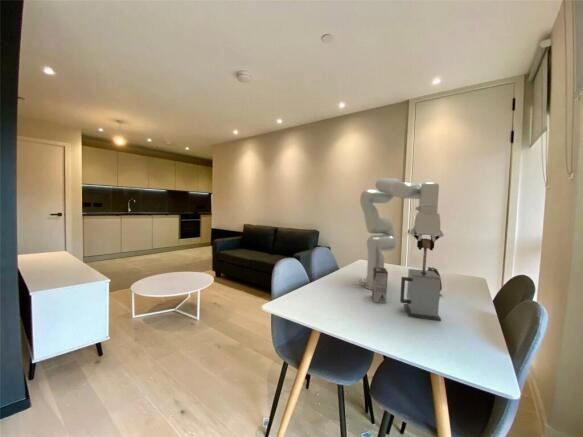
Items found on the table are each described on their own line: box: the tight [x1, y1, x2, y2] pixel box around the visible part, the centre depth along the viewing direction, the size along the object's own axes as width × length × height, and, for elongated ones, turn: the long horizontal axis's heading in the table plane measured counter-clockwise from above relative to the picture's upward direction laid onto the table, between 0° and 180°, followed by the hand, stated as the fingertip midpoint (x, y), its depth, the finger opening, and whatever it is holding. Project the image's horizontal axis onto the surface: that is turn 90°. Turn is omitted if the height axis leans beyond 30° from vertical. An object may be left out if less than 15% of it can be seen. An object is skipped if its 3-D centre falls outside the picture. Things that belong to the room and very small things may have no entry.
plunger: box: [421, 238, 431, 274], centre depth 117 cm, size 9×9×20 cm
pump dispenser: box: [426, 266, 443, 293], centre depth 145 cm, size 10×10×15 cm
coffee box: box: [371, 267, 389, 304], centre depth 133 cm, size 9×6×16 cm
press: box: [399, 268, 442, 322], centre depth 118 cm, size 16×13×19 cm
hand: (425, 249), depth 116 cm, fingers closed on plunger, 4 cm apart
